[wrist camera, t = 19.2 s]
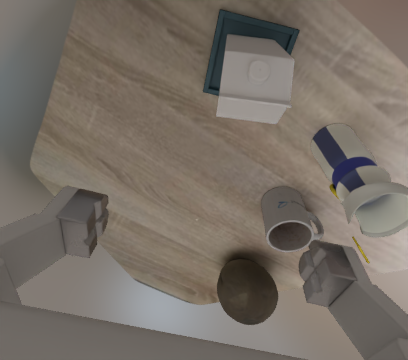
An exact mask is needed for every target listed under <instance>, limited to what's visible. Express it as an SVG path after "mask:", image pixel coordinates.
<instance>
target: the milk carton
mask: <svg viewBox="0 0 408 360" xmlns="http://www.w3.org/2000/svg"><path fill="white" fill-rule="evenodd" d="M294 61H295V60H294V59H293V58H292V57H291V56H290V55H289V54H288V53H287V52H286V51H285V50H284V49H283V48H282V47H281V46H280V45H279V44H278V43H277V42H276V41H275V40H272V39H265V38H257V37H249V36H241V35H233V34H227V39H226V47H225V54H224V62H223V69H222V76H221V84H220V92H219V99H218V107H217V114H216V116H218V117H225V118H233V119H240V120H248V121H256V122H263V123H271V124H277V122H278V121H279V119H280V118H281V116H282V115H283V113H284V112H285V110H286V109H287V107H290V108H291V107H292V105H291V103H290V99H291V89H292V80H293V71H294Z"/></svg>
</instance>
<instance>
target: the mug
mask: <svg viewBox="0 0 408 360" xmlns="http://www.w3.org/2000/svg"><path fill="white" fill-rule="evenodd" d="M261 206H262V213H263V220H264V226H265V233H266V240H267V243H268V244H269V245H270V246H271V247H272V248H273V249H275V250H278V251H281V252H295V251H299V250H302V249H304V248H305V247H307V246H308V245H309V244H310V243H311V241H312V240H318V239H320V238H321V237H322V236H323V234H324V229H323V226H322V224H321V222H320V221H319V219H318V218H317V217H316V216H315V215H314V214H312V213H311V212H308V211H306V209H305V206H304V203H303V200H302V197H301V195H300V193H299V192H298V191H297V190H295V189H293V188H290V187H277V188H273V189H271V190H270V191H268V192H267V193H266V194H265V195H264V196H263V198H262V201H261ZM309 219H310V220H312V221H313V222H314V224H315V225H316V227H317V229H318V234H314V231H313V228H312V225H311V223H310V220H309Z"/></svg>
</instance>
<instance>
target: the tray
mask: <svg viewBox="0 0 408 360" xmlns="http://www.w3.org/2000/svg"><path fill="white" fill-rule="evenodd" d="M298 33H299V30H298V29H294V28H291V27H287V26H283V25H279V24H275V23H271V22H267V21H264V20H260V19H256V18H252V17H248V16H244V15H240V14H236V13H233V12H229V11H225V10H221V9H220V12H219V16H218V21H217V26H216V31H215V36H214V41H213V46H212V50H211V55H210V60H209V65H208V70H207V75H206V79H205V84H204V89H203V92H205V93H209V94H213V95H217V96H219V92H220V84H221V76H222V69H223V62H224V54H225V47H226V39H227V34H233V35H241V36H249V37H257V38H265V39H272V40H275V41H276V42H277V43H278V44H279V45H280V46H281V47H282V48H283V49H284V50H285V51H286V52H287V53H288V54H289V55H291V52H292V49H293V47H294V44H295V41H296V39H297V36H298Z"/></svg>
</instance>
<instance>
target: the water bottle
mask: <svg viewBox="0 0 408 360" xmlns="http://www.w3.org/2000/svg"><path fill="white" fill-rule="evenodd" d="M311 151H312V154H313V155H314V157H315V158H316V160H317V161H318V163H319V164H320V166H321V168H322V170H323V171H324V173H325V175H326V177H327V178H328V180H329V181H330V182H331V183H332V184H331V185H330V190H331V191H332V193H333V194H334V195H335V196H336V197H337V198H338V199H339V200H340V201H342V203H341V204H342V205H343V207H344V209H345V212H346V216H347V220H348V224H349V223H350V222H351V220H352V217H353V215H354V213H355V215H356V217H357V219H358V221H359V223H360V229H361V232H362V234H364V235H366V236H369V237H385V236H389V235H392V234H395V233H397V232H399V231H400V230H402V229H404V228H406V227H407V226H408V188H407V187H406V186H404V185H401V184H398V183H394V182H391V177H390V175H389V173H388V172H387V171H386V170H385V169H383V168H381V167H378V166H377V164H376V161H375V158H374V156H373V155H372V154H371V152H370V151H369V150H368V149H367V148H366V146H365V145H364V144H363V143H362V142H361V140H360V139H359V138H358V136H357V135H356V134H355V132H354V131H353V129H352V128H351V127H349V126H347V125H345V124H331V125H328V126H326V127H324V128H322V129H321V130H319V131H318V132H317V133H316V134H315V136H314V137H313V139H312V142H311ZM352 238H353V240H354V241H355V243H356V245H357V247H358V248H359V250H360V252H361V253H362V255H363V257H364V258H365V260H366V262H367V263H370V262H369V261H368V259H367V257H366V256H365V254H364V252H363V251H362V249H361V247H360V246H359V244H358V243H357V241H356V240H355V238H354V237H352Z"/></svg>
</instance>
